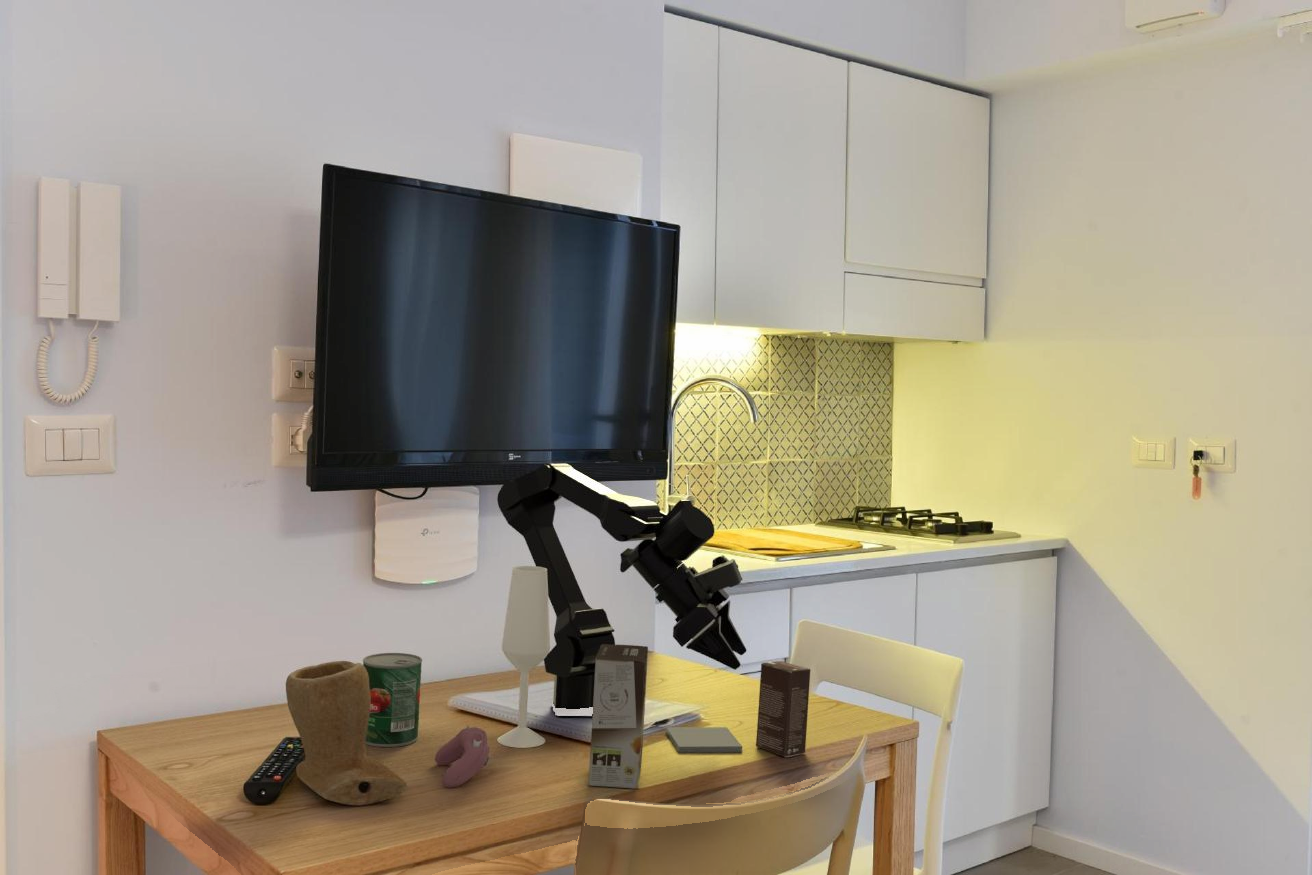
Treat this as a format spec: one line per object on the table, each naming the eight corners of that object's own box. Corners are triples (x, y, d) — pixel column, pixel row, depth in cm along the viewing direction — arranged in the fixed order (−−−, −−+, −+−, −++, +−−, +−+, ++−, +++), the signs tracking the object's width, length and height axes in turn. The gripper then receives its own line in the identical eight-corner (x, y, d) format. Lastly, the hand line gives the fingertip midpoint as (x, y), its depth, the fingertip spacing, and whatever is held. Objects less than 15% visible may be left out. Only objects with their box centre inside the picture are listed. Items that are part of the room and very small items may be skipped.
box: (807, 753, 159) (812, 668, 159) (784, 758, 156) (789, 671, 156) (776, 742, 164) (781, 659, 163) (753, 746, 161) (758, 662, 160)
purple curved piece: (472, 800, 138) (500, 749, 139) (439, 785, 137) (467, 733, 138) (462, 774, 148) (488, 725, 148) (431, 759, 146) (458, 710, 147)
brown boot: (270, 777, 138) (275, 655, 138) (366, 764, 145) (371, 647, 144) (305, 819, 126) (311, 685, 125) (408, 803, 132) (414, 675, 132)
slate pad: (678, 752, 157) (679, 746, 156) (666, 732, 165) (666, 727, 165) (742, 751, 158) (742, 746, 158) (726, 732, 167) (726, 727, 167)
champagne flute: (505, 749, 154) (514, 573, 153) (490, 734, 160) (499, 565, 159) (552, 745, 157) (561, 572, 156) (536, 731, 163) (544, 564, 162)
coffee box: (639, 789, 141) (645, 661, 140) (587, 786, 141) (594, 658, 140) (642, 765, 150) (648, 645, 149) (593, 762, 150) (600, 642, 150)
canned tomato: (347, 741, 154) (350, 660, 153) (381, 726, 161) (385, 649, 160) (396, 751, 151) (400, 668, 150) (429, 735, 158) (433, 657, 158)
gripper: (701, 547, 152) (780, 636, 150) (717, 532, 170) (787, 611, 168) (640, 601, 153) (717, 689, 152) (662, 580, 171) (731, 659, 170)
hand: (741, 659), depth 160 cm, fingers open, 9 cm apart
